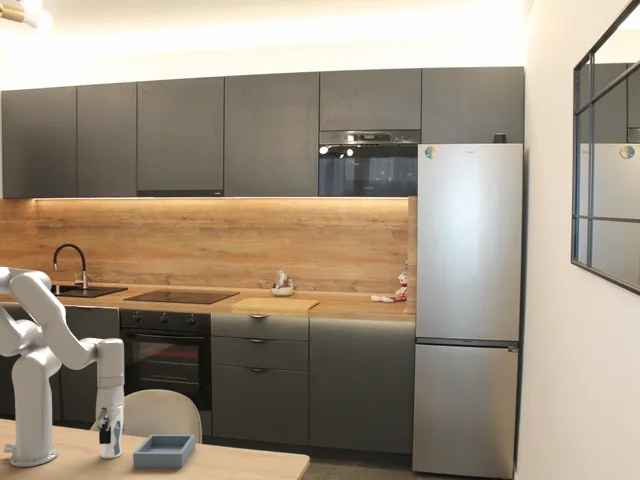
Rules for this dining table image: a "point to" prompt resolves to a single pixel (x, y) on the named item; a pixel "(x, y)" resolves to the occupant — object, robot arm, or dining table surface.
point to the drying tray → (164, 451)
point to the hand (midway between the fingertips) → (111, 437)
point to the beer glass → (114, 435)
